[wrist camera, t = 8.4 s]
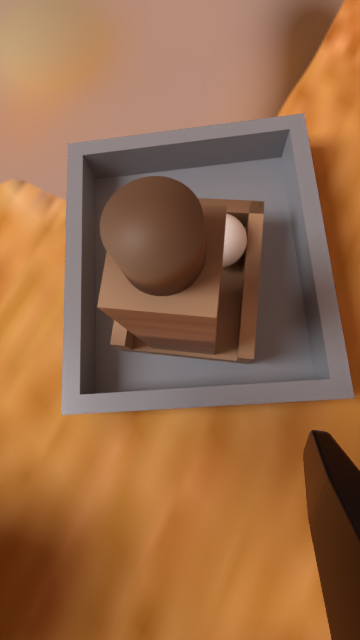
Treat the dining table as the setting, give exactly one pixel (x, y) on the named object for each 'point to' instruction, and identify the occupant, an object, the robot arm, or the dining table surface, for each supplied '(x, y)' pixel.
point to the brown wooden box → (179, 272)
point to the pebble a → (233, 241)
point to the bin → (274, 282)
